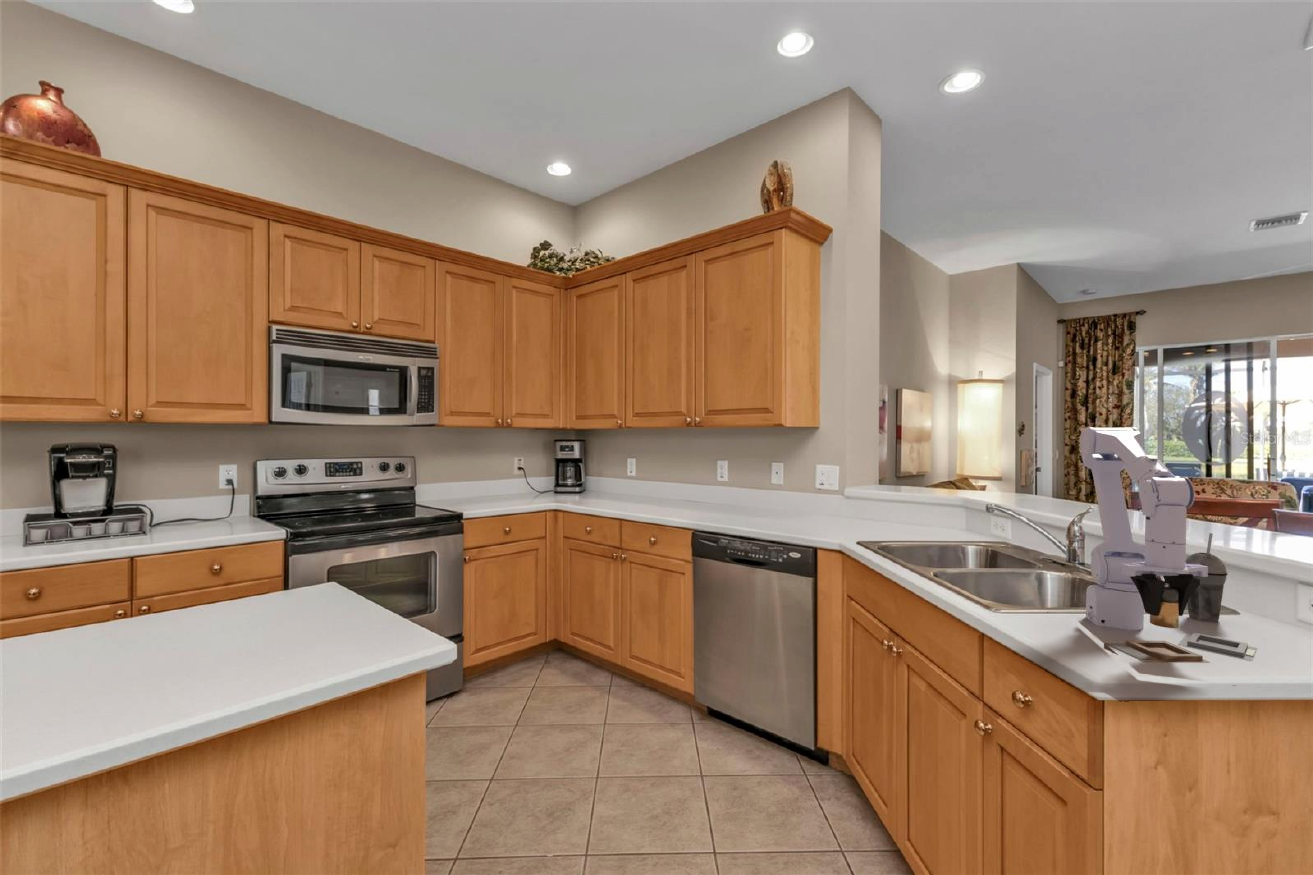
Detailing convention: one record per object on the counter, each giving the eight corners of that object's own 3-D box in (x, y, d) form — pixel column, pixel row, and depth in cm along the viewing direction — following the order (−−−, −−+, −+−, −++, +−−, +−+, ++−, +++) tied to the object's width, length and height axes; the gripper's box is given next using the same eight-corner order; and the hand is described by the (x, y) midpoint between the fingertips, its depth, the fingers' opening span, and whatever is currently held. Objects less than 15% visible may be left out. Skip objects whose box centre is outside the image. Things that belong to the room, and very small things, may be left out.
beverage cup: (1172, 617, 131) (1174, 529, 130) (1207, 618, 130) (1208, 530, 130) (1199, 628, 123) (1201, 535, 123) (1236, 629, 123) (1238, 536, 122)
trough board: (1143, 667, 102) (1144, 657, 102) (1103, 648, 111) (1104, 639, 111) (1210, 667, 102) (1210, 657, 102) (1164, 648, 111) (1164, 639, 111)
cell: (1156, 626, 105) (1156, 585, 105) (1145, 620, 109) (1146, 580, 109) (1183, 629, 104) (1183, 587, 104) (1171, 622, 108) (1172, 582, 108)
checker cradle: (1252, 666, 103) (1252, 656, 103) (1177, 650, 111) (1177, 640, 111) (1257, 653, 109) (1257, 643, 109) (1186, 638, 117) (1186, 629, 117)
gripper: (1145, 545, 102) (1143, 621, 103) (1225, 546, 103) (1223, 621, 103) (1113, 538, 109) (1112, 608, 110) (1187, 538, 110) (1186, 609, 110)
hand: (1163, 614), depth 107 cm, fingers closed on cell, 4 cm apart
